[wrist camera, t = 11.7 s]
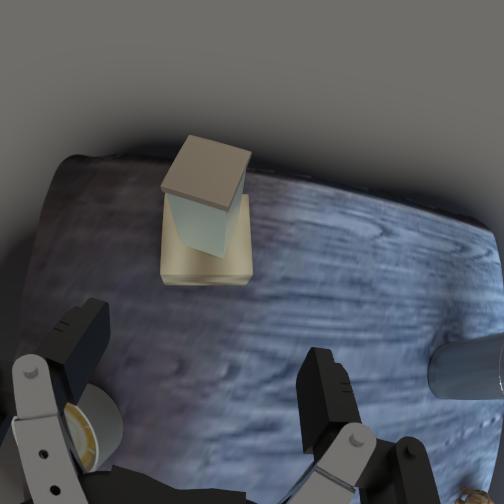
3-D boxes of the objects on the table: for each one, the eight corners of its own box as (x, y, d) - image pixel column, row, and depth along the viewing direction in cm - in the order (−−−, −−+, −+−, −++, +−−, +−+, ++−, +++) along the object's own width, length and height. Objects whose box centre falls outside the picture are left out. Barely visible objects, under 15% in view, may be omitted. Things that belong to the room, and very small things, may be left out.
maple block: (242, 213, 41) (248, 194, 36) (245, 285, 38) (252, 274, 33) (168, 211, 39) (165, 192, 35) (164, 285, 36) (160, 274, 31)
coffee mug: (52, 374, 29) (10, 375, 20) (124, 389, 30) (98, 400, 21) (55, 467, 24) (20, 491, 15) (125, 486, 26) (105, 521, 16)
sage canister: (240, 218, 35) (251, 152, 23) (224, 260, 33) (228, 207, 21) (196, 204, 35) (189, 134, 23) (178, 245, 33) (160, 186, 21)
